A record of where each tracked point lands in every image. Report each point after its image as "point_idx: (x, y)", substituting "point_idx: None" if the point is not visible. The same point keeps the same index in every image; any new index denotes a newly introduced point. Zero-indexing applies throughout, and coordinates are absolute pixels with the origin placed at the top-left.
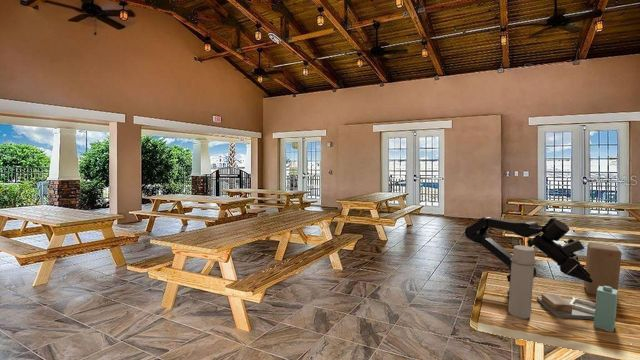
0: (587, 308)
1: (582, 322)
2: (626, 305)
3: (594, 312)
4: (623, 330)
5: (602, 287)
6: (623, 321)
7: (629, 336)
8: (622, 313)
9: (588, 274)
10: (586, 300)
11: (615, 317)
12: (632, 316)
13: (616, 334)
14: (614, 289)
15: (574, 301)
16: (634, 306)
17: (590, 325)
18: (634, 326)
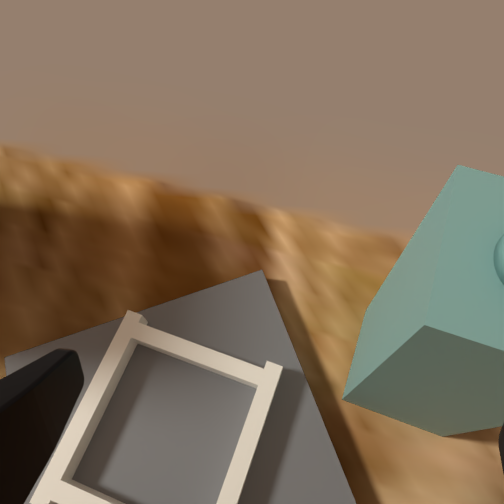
0: (249, 430)
1: (415, 500)
2: (4, 175)
3: (275, 389)
4: None
5: (476, 301)
6: (253, 245)
7: None
8: (133, 222)
9: (61, 377)
10: None
11: (380, 288)
12: (157, 188)
13: None
14: (454, 191)
15: (112, 501)
16: (8, 145)
17: (435, 453)
18: (296, 213)
